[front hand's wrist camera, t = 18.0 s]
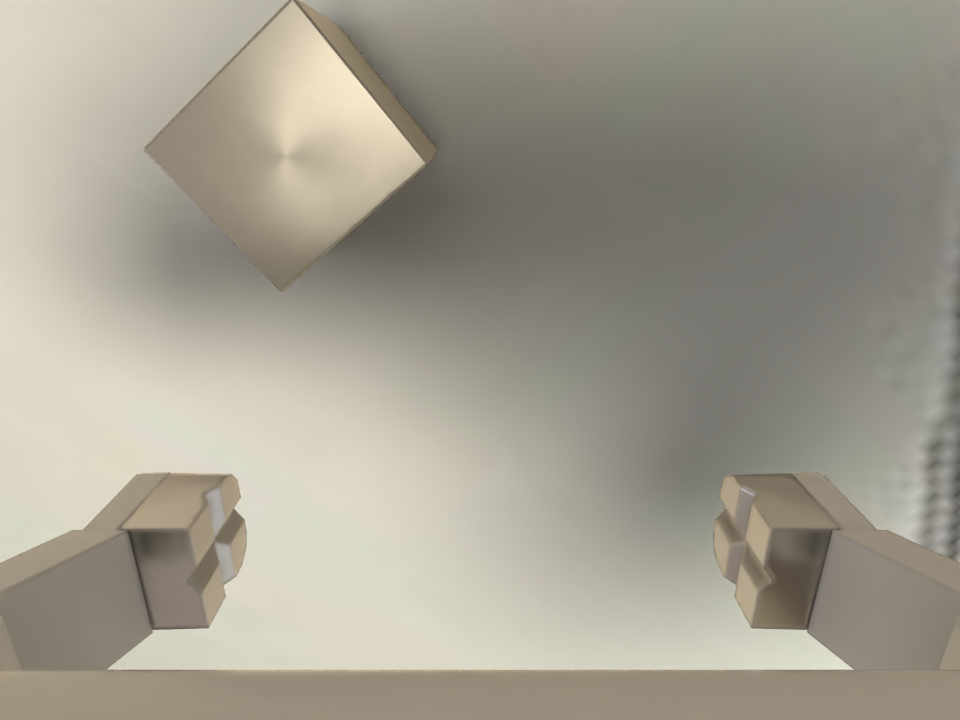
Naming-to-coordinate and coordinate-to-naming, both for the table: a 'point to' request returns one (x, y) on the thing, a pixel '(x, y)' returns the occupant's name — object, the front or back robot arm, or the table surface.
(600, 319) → the table surface
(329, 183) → the block
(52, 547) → the front robot arm
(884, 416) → the table surface
